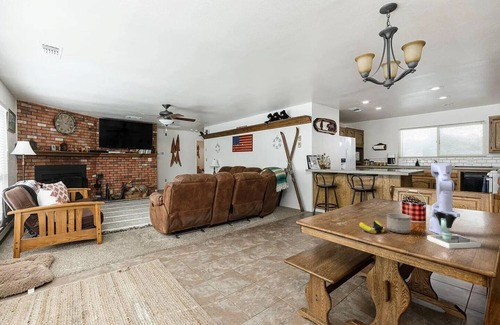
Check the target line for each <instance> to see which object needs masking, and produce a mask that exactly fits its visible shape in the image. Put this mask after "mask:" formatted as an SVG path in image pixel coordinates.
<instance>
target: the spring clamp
mask: <svg viewBox="0 0 500 325" xmlns="http://www.w3.org/2000/svg"><path fill="white" fill-rule="evenodd" d="M372 222H373V223H372V224H373V226H368V225H367V224H365V223H364V222H359V224H358V225H359V227H360V228H361V229H362V230H363V231H365V232H367V233H369V234H382V233H384V232H385V228H386V227H385V226H384V225H382V224H381V223H380V222H379V221H378V220H373V221H372Z"/></svg>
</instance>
